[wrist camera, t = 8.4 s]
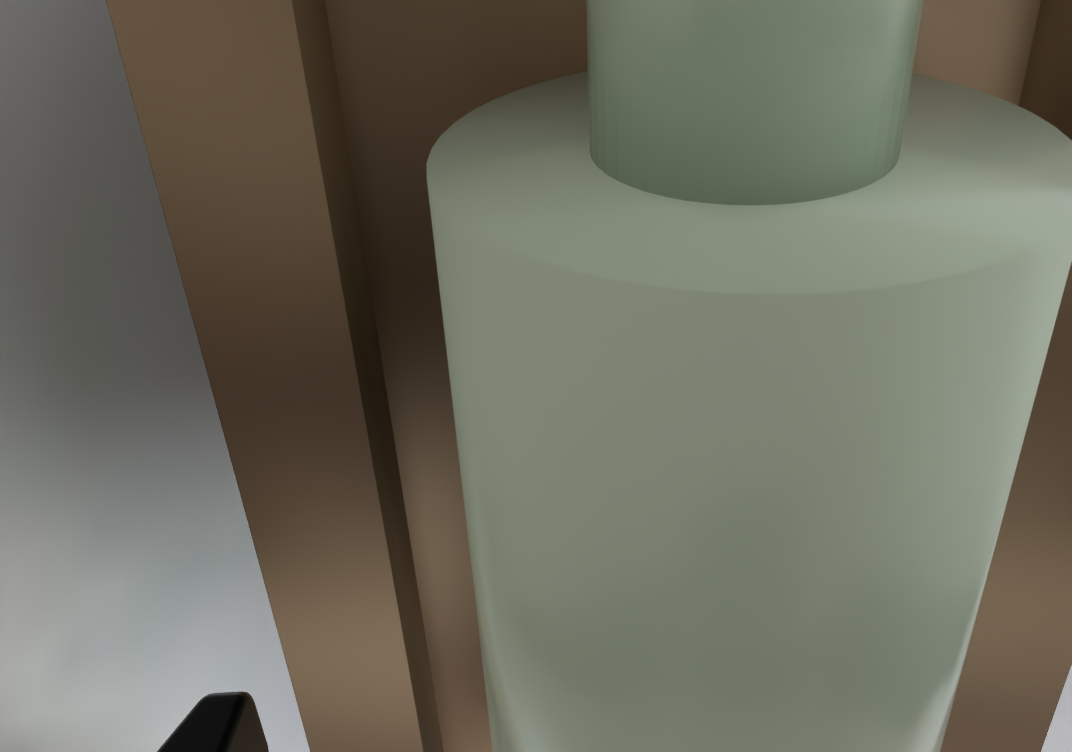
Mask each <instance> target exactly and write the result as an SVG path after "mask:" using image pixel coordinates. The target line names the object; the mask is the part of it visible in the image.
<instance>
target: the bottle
mask: <svg viewBox="0 0 1072 752" xmlns="http://www.w3.org/2000/svg"><path fill="white" fill-rule="evenodd" d="M586 6H587V53H588V71H587V72H582V73H577V74H572V75H568V76H564V77H560V78H556V79H552V80H548V81H545V82H541V83H538V84H535V85H532V86H529V87H526V88H522V89H519V90H516V91H514V92H511V93H509V94H506V95H504V96H501V97H499V98H497V99H494V100H492V101H490V102H488V103H486V104H484V105H482V106H480V107H478V108H476V109H474V110H473V111H471V112H469V113H468V114H466V115H465V116H464V117H462V118H461V119H459V120H458V121H456V122H455V123H454V124H452V125H451V126H450V127H449V128H448V129H447V130H446V131H445V132H444V133H443V134H442V135H441V136H440V137H439V139H438V140H437V142H436V143H435V144H434V146H433V147H432V149H431V151H430V154H429V157H428V160H427V163H426V168H427V186H428V194H429V203H430V212H431V220H432V229H433V238H434V246H435V255H436V264H437V272H438V281H439V290H440V298H441V307H442V316H443V324H444V333H445V342H446V350H447V359H448V368H449V376H450V385H451V394H452V402H453V411H454V420H455V428H456V437H457V446H458V454H459V463H460V472H461V480H462V489H463V498H464V506H465V515H466V524H467V533H468V541H469V550H470V559H471V567H472V576H473V585H474V593H475V602H476V611H477V619H478V628H479V637H480V645H481V654H482V663H483V671H484V680H485V689H486V697H487V706H488V715H489V723H490V732H491V741H492V749H493V752H940V750H941V746H942V743H943V739H944V735H945V731H946V728H947V724H948V720H949V716H950V713H951V709H952V705H953V702H954V698H955V694H956V690H957V687H958V683H959V679H960V675H961V672H962V668H963V664H964V661H965V657H966V653H967V649H968V646H969V642H970V638H971V634H972V631H973V627H974V623H975V620H976V616H977V612H978V608H979V605H980V601H981V597H982V593H983V590H984V586H985V582H986V579H987V575H988V571H989V567H990V564H991V560H992V556H993V552H994V549H995V545H996V541H997V538H998V534H999V530H1000V526H1001V523H1002V519H1003V515H1004V511H1005V508H1006V504H1007V500H1008V497H1009V493H1010V489H1011V485H1012V482H1013V478H1014V474H1015V470H1016V467H1017V463H1018V459H1019V456H1020V452H1021V448H1022V444H1023V441H1024V437H1025V433H1026V429H1027V426H1028V422H1029V418H1030V415H1031V411H1032V407H1033V403H1034V400H1035V396H1036V392H1037V388H1038V385H1039V381H1040V377H1041V374H1042V370H1043V366H1044V362H1045V359H1046V355H1047V351H1048V347H1049V344H1050V340H1051V336H1052V333H1053V329H1054V325H1055V321H1056V318H1057V314H1058V310H1059V307H1060V303H1061V299H1062V295H1063V292H1064V288H1065V284H1066V280H1067V277H1068V273H1069V269H1070V266H1071V262H1072V140H1071V139H1069V138H1068V137H1067V136H1066V135H1065V134H1063V133H1062V132H1061V131H1060V130H1059V129H1057V128H1056V127H1055V126H1054V125H1052V124H1050V123H1049V122H1047V121H1045V120H1044V119H1042V118H1040V117H1039V116H1037V115H1035V114H1034V113H1032V112H1030V111H1028V110H1026V109H1023V108H1021V107H1019V106H1017V105H1015V104H1013V103H1011V102H1009V101H1006V100H1003V99H1001V98H998V97H995V96H993V95H990V94H987V93H985V92H982V91H979V90H976V89H972V88H969V87H966V86H962V85H959V84H956V83H953V82H949V81H944V80H940V79H936V78H932V77H928V76H924V75H919V74H914V73H912V72H913V65H914V59H915V52H916V46H917V39H918V33H919V26H920V20H921V13H922V7H923V0H586Z"/></svg>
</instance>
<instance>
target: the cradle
mask: <svg viewBox="0 0 1072 752" xmlns="http://www.w3.org/2000/svg"><path fill="white" fill-rule="evenodd" d="M106 3H107V6H108V10H109V14H110V17H111V21H112V25H113V28H114V32H115V36H116V39H117V43H118V47H119V50H120V54H121V58H122V61H123V65H124V69H125V72H126V76H127V80H128V83H129V87H130V91H131V94H132V98H133V102H134V105H135V109H136V113H137V116H138V120H139V124H140V127H141V131H142V135H143V138H144V142H145V146H146V150H147V153H148V157H149V161H150V164H151V168H152V172H153V175H154V179H155V183H156V186H157V190H158V194H159V197H160V201H161V205H162V208H163V212H164V216H165V219H166V223H167V227H168V230H169V234H170V238H171V241H172V245H173V249H174V252H175V256H176V260H177V263H178V267H179V271H180V274H181V278H182V282H183V285H184V289H185V293H186V296H187V300H188V304H189V307H190V311H191V315H192V318H193V322H194V326H195V329H196V333H197V337H198V341H199V344H200V348H201V352H202V355H203V359H204V363H205V366H206V370H207V374H208V377H209V381H210V385H211V388H212V392H213V396H214V399H215V403H216V407H217V410H218V414H219V418H220V421H221V425H222V429H223V432H224V436H225V440H226V443H227V447H228V451H229V454H230V458H231V462H232V465H233V469H234V473H235V476H236V480H237V484H238V487H239V491H240V495H241V498H242V502H243V506H244V509H245V513H246V517H247V520H248V524H249V528H250V531H251V535H252V539H253V543H254V546H255V550H256V554H257V557H258V561H259V565H260V568H261V572H262V576H263V579H264V583H265V587H266V590H267V594H268V598H269V601H270V605H271V609H272V612H273V616H274V620H275V623H276V627H277V631H278V634H279V638H280V642H281V645H282V649H283V653H284V656H285V660H286V664H287V667H288V671H289V675H290V678H291V682H292V686H293V689H294V693H295V697H296V700H297V704H298V708H299V711H300V715H301V719H302V722H303V726H304V730H305V733H306V737H307V741H308V745H309V748H310V752H493V749H492V741H491V732H490V723H489V715H488V706H487V697H486V689H485V680H484V671H483V663H482V654H481V645H480V637H479V628H478V619H477V611H476V602H475V593H474V585H473V576H472V567H471V559H470V550H469V541H468V533H467V524H466V515H465V506H464V498H463V489H462V480H461V472H460V463H459V454H458V446H457V437H456V428H455V420H454V411H453V402H452V394H451V385H450V376H449V368H448V359H447V350H446V342H445V333H444V324H443V316H442V307H441V298H440V290H439V281H438V272H437V264H436V255H435V246H434V238H433V229H432V220H431V212H430V203H429V194H428V186H427V168H426V163H427V160H428V157H429V154H430V151H431V149H432V147H433V146H434V144H435V143H436V142H437V140H438V139H439V137H440V136H441V135H442V134H443V133H444V132H445V131H446V130H447V129H448V128H449V127H450V126H451V125H452V124H454V123H455V122H456V121H458V120H459V119H461V118H462V117H464V116H465V115H466V114H468V113H469V112H471V111H473V110H474V109H476V108H478V107H480V106H482V105H484V104H486V103H488V102H490V101H492V100H494V99H497V98H499V97H501V96H504V95H506V94H509V93H511V92H514V91H516V90H519V89H522V88H526V87H529V86H532V85H535V84H538V83H541V82H545V81H548V80H552V79H556V78H560V77H564V76H568V75H572V74H577V73H582V72H587V71H588V53H587V6H586V0H106ZM912 73H914V74H919V75H924V76H928V77H932V78H936V79H940V80H944V81H949V82H953V83H956V84H959V85H962V86H966V87H969V88H972V89H976V90H979V91H982V92H985V93H987V94H990V95H993V96H995V97H998V98H1001V99H1003V100H1006V101H1009V102H1011V103H1013V104H1015V105H1017V106H1019V107H1021V108H1023V109H1026V110H1028V111H1030V112H1032V113H1034V114H1035V115H1037V116H1039V117H1040V118H1042V119H1044V120H1045V121H1047V122H1049V123H1050V124H1052V125H1054V126H1055V127H1056V128H1057V129H1059V130H1060V131H1061V132H1062V133H1063V134H1065V135H1066V136H1067V137H1068V138H1069V139H1071V140H1072V0H923V7H922V13H921V20H920V26H919V33H918V39H917V46H916V52H915V59H914V65H913V72H912ZM1071 664H1072V262H1071V266H1070V269H1069V273H1068V277H1067V280H1066V284H1065V288H1064V292H1063V295H1062V299H1061V303H1060V307H1059V310H1058V314H1057V318H1056V321H1055V325H1054V329H1053V333H1052V336H1051V340H1050V344H1049V347H1048V351H1047V355H1046V359H1045V362H1044V366H1043V370H1042V374H1041V377H1040V381H1039V385H1038V388H1037V392H1036V396H1035V400H1034V403H1033V407H1032V411H1031V415H1030V418H1029V422H1028V426H1027V429H1026V433H1025V437H1024V441H1023V444H1022V448H1021V452H1020V456H1019V459H1018V463H1017V467H1016V470H1015V474H1014V478H1013V482H1012V485H1011V489H1010V493H1009V497H1008V500H1007V504H1006V508H1005V511H1004V515H1003V519H1002V523H1001V526H1000V530H999V534H998V538H997V541H996V545H995V549H994V552H993V556H992V560H991V564H990V567H989V571H988V575H987V579H986V582H985V586H984V590H983V593H982V597H981V601H980V605H979V608H978V612H977V616H976V620H975V623H974V627H973V631H972V634H971V638H970V642H969V646H968V649H967V653H966V657H965V661H964V664H963V668H962V672H961V675H960V679H959V683H958V687H957V690H956V694H955V698H954V702H953V705H952V709H951V713H950V716H949V720H948V724H947V728H946V731H945V735H944V739H943V743H942V746H941V750H940V752H1041V749H1042V746H1043V743H1044V740H1045V738H1046V735H1047V732H1048V729H1049V726H1050V723H1051V721H1052V718H1053V715H1054V712H1055V709H1056V706H1057V704H1058V701H1059V698H1060V695H1061V692H1062V690H1063V687H1064V684H1065V681H1066V678H1067V675H1068V673H1069V670H1070V667H1071Z"/></svg>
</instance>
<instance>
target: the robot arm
mask: <svg viewBox="0 0 1072 752" xmlns="http://www.w3.org/2000/svg"><path fill="white" fill-rule="evenodd" d="M157 752H269V751H268V745H267V742H266V738H265V735H264V732H263V729H262V725H261V722H260V719H259V716H258V712H257V709H256V706H255V703H254V700H253V698H252V697H251V695H250V694H249V693H247V692H225V693H213V694H209V695H207V696H205V697H203V698H202V699H201V700H200V701H199V702H198V703H197V704H196V706H195V707H194V708H193V709H192V710H191V712H190V713H189V714H188V715H187V716H186V718H185V719H184V720H183V721H182V722H181V724H180V725H179V726H178V727H177V728H176V730H175V731H174V732H173V733H172V734H171V736H170V737H169V738H168V739H167V740H166V742H165V743H164V744H163V745H162V746H161V748H160V749H159V750H158V751H157Z"/></svg>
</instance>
